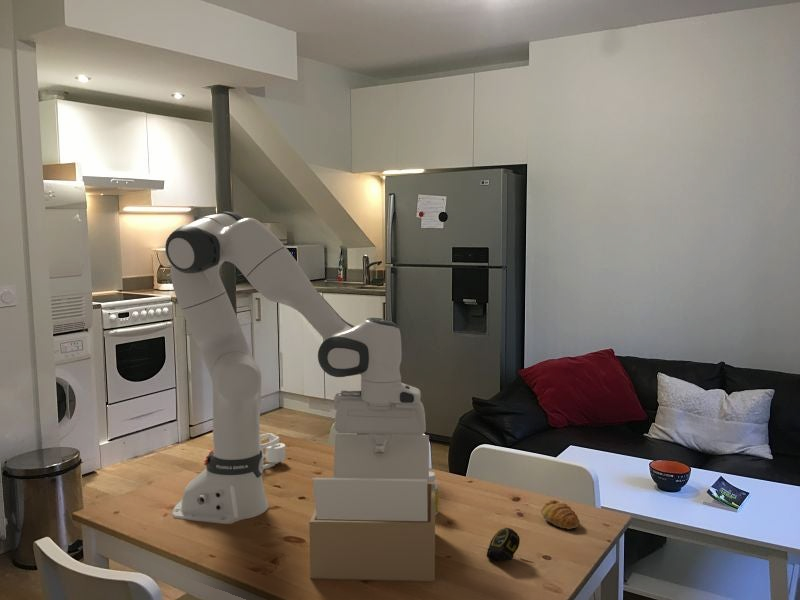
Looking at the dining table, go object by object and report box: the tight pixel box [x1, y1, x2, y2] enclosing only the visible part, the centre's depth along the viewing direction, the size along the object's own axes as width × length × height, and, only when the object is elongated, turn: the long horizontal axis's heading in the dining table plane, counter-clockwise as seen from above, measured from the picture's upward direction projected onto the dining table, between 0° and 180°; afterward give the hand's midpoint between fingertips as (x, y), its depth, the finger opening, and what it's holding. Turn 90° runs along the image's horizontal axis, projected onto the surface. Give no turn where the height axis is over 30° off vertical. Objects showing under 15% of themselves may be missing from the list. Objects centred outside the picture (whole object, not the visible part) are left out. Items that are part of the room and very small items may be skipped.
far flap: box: [332, 433, 430, 481], centre depth 153 cm, size 21×10×1 cm
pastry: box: [540, 499, 581, 530], centre depth 158 cm, size 9×7×4 cm
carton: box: [308, 482, 436, 583], centre depth 142 cm, size 24×22×12 cm
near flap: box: [312, 477, 428, 521], centre depth 128 cm, size 21×10×1 cm
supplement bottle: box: [427, 470, 439, 516], centre depth 164 cm, size 5×5×10 cm
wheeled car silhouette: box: [260, 432, 286, 471], centre depth 197 cm, size 20×11×7 cm, turn 147°
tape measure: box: [486, 527, 521, 562], centre depth 139 cm, size 7×7×4 cm
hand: (379, 452), depth 152 cm, fingers closed
